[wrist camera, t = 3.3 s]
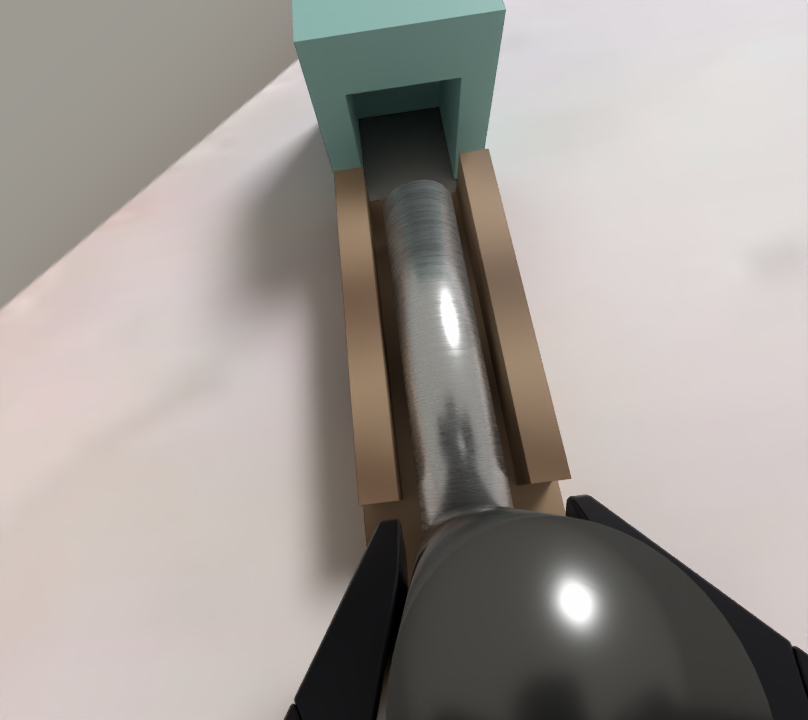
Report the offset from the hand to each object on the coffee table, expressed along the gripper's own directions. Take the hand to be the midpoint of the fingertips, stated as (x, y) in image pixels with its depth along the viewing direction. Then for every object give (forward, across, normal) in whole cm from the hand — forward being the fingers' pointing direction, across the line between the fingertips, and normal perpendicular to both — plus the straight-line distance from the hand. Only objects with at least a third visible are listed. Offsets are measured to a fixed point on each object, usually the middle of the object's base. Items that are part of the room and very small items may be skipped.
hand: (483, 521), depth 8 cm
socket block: (+18, 0, -8) cm, 19 cm away
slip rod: (+7, 0, +1) cm, 7 cm away
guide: (+8, 0, +2) cm, 8 cm away
